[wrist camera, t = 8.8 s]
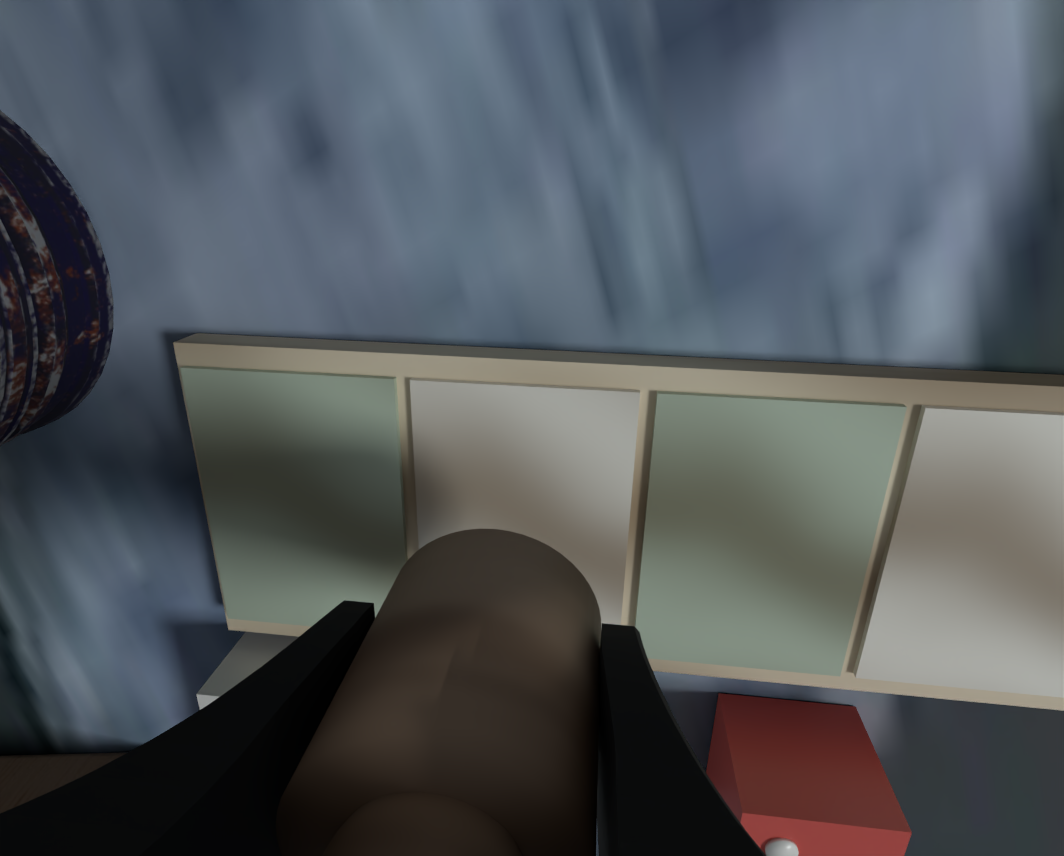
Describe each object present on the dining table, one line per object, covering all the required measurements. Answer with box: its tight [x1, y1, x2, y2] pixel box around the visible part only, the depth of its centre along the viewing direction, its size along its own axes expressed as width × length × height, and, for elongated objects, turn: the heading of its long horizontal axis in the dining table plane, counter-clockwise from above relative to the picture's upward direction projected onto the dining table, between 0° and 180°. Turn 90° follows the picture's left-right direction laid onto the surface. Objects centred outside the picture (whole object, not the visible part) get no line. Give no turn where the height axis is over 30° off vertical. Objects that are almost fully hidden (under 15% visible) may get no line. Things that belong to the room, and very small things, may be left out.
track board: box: [173, 333, 1064, 710], centre depth 17 cm, size 9×24×1 cm, turn 89°
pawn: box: [276, 529, 601, 856], centre depth 10 cm, size 4×4×7 cm
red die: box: [706, 693, 912, 856], centre depth 19 cm, size 4×4×4 cm
